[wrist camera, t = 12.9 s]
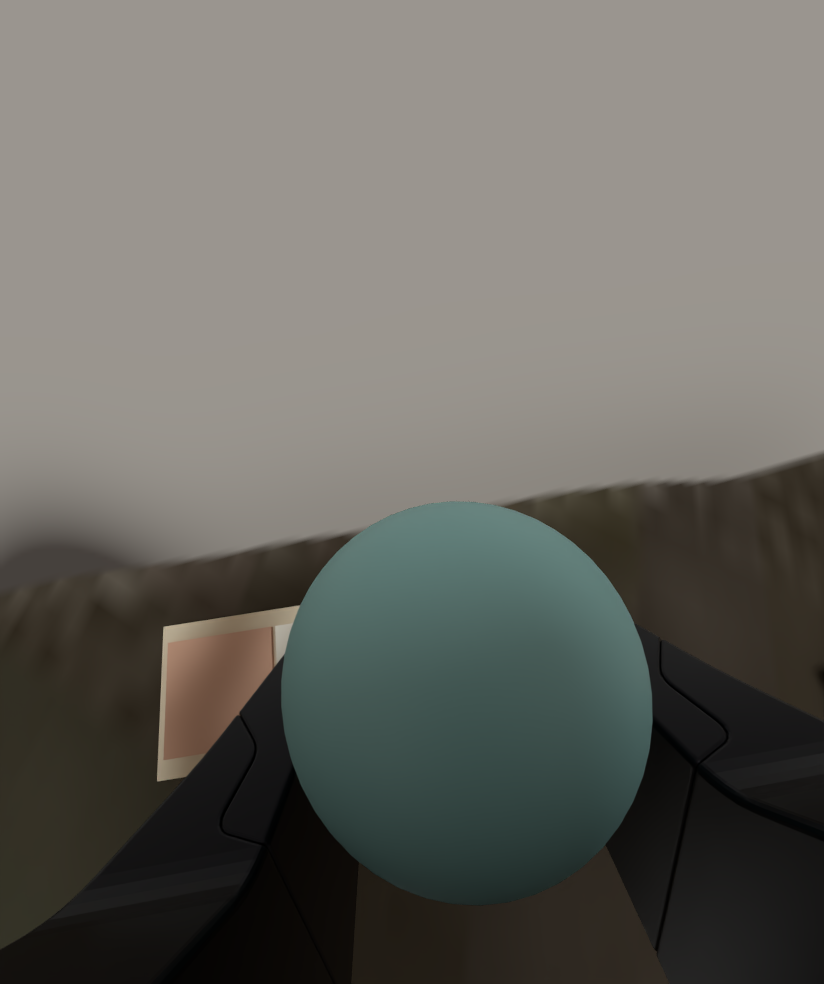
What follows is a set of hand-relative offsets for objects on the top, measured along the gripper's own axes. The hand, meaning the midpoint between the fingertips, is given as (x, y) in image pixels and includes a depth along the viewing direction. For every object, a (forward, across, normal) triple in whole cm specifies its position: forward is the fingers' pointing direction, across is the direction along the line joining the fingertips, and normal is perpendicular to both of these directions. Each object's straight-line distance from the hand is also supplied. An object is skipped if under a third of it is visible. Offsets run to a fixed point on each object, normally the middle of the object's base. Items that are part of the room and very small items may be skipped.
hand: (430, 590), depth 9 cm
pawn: (+4, 0, +6) cm, 7 cm away
